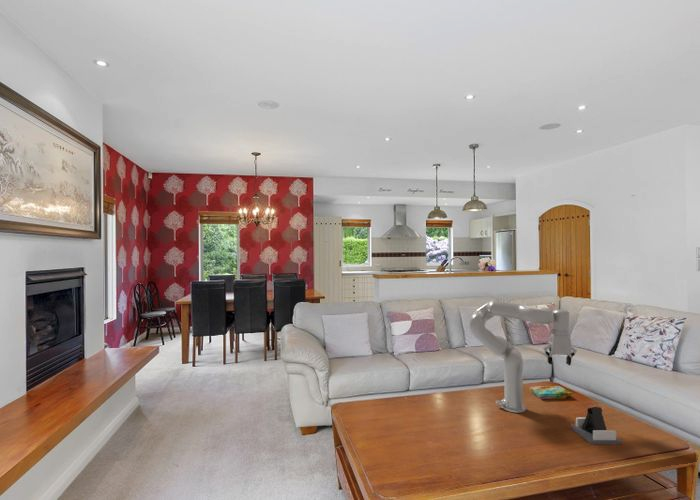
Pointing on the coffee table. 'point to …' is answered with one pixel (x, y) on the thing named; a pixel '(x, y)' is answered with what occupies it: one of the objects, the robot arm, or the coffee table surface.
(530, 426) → the coffee table surface
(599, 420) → the phone stand
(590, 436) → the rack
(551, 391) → the puzzle game
